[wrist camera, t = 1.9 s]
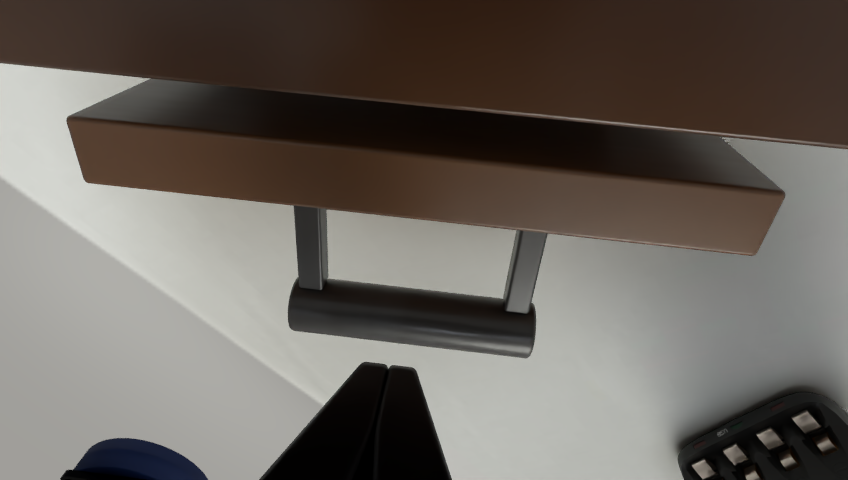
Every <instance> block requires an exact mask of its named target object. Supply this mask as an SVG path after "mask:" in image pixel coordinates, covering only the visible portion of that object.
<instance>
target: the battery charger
mask: <svg viewBox="0 0 848 480" xmlns="http://www.w3.org/2000/svg"><path fill="white" fill-rule="evenodd" d="M678 463H679V467H680V470H681V472H682V475H683V478H684V480H848V411H847V410H846V409H842V408H840V407H839V406H838V405H837V404H836V403H835V402H833V401H831V400H830V399H828V398H826V397H824V396H821V395H818V394H815V393H809V392H800V393H795V394H792V395H788V396H785V397H782V398H780V399H778V400H775V401H773V402H771V403H769V404H767V405H765V406H762V407H760V408H758V409H756V410H754V411H752V412H750V413H748V414H745V415H743V416H741V417H739V418H737V419H735V420H733V421H731V422H729V423H727V424H725V425H723V426H721V427H719V428H717V429H716V430H714V431H712V432H710V433H708V434H706V435H704V436H702V437H700V438H698V439H696V440H695V441H693V442H691V443H690V444H689V445H687V446H686V447H684V448H683V449H682V450H681V452H680V453H679V456H678Z"/></svg>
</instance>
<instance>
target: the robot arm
mask: <svg viewBox="0 0 848 480" xmlns="http://www.w3.org/2000/svg"><path fill="white" fill-rule="evenodd" d="M60 480H147V479H139V478H132V477H124V476H116V475H109V474H101V473H94V472H86V471H78V470H66V471H65V473H64V474H63V475H62V477H61V478H60ZM259 480H452V478H451V475H450V472H449V469H448V466H447V463H446V460H445V457H444V454H443V451H442V448H441V445H440V442H439V439H438V436H437V433H436V430H435V426H434V423H433V420H432V417H431V414H430V411H429V408H428V405H427V402H426V399H425V396H424V393H423V390H422V387H421V384H420V381H419V378H418V375H417V372H416V370H415V369H414V368H412V367H404V366H396V365H392V366H390V367H389V369H388V367H387V365H385V364H379V363H370V362H364V363H362V364H360V365H359V366H358V367H357V369H356V370H355V371H354V372H353V373H352V374H351V375H350V377H349V378H348V379H347V380H346V381H345V382H344V383H343V385H342V386H341V387H340V388H339V389H338V390H337V391H336V393H335V394H334V395H333V396H332V397H331V398H330V399H329V401H328V402H327V403H326V404H325V405H324V406H323V407H322V409H321V410H320V411H319V412H318V413H317V414H316V415H315V417H314V418H313V419H312V420H311V421H310V423H308V425H307V426H306V427H305V428H304V429H303V430H302V431H301V433H300V434H299V435H298V436H297V437H296V438H295V439H294V441H293V442H292V443H291V444H290V445H289V446H288V448H287V449H286V450H285V451H284V452H283V453H282V454H281V456H280V457H279V458H278V459H277V460H276V461H275V462H274V463H273V465H272V466H271V467H270V468H269V469H268V470H267V472H266V473H265V474H264V475H263V476H262V477H261V478H260V479H259Z"/></svg>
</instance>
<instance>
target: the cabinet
mask: <svg viewBox="0 0 848 480" xmlns="http://www.w3.org/2000/svg"><path fill="white" fill-rule="evenodd" d="M0 63H4V64H14V65H24V66H34V67H43V68H53V69H63V70H73V71H83V72H93V73H102V74H112V75H122V76H132V77H142V78H151V79H161V80H171V81H181V82H191V83H201V84H210V85H220V86H230V87H240V88H250V89H260V90H269V91H279V92H289V93H299V94H309V95H318V96H328V97H338V98H348V99H358V100H368V101H377V102H387V103H397V104H407V105H417V106H427V107H436V108H446V109H456V110H466V111H476V112H485V113H495V114H505V115H515V116H525V117H535V118H544V119H554V120H564V121H574V122H584V123H594V124H603V125H613V126H623V127H633V128H643V129H652V130H662V131H672V132H682V133H692V134H702V135H711V136H721V137H731V138H741V139H751V140H761V141H770V142H780V143H790V144H800V145H810V146H819V147H829V148H839V149H848V0H0Z"/></svg>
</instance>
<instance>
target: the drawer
mask: <svg viewBox="0 0 848 480" xmlns="http://www.w3.org/2000/svg"><path fill="white" fill-rule="evenodd" d="M67 125H68V128H69V131H70V135H71V138H72V141H73V145H74V148H75V151H76V155H77V158H78V161H79V165H80V168H81V171H82V175H83V178H84V180H85V181H86V182H87V183H93V184H102V185H111V186H121V187H130V188H139V189H148V190H157V191H166V192H175V193H184V194H193V195H203V196H212V197H221V198H230V199H239V200H248V201H257V202H266V203H275V204H285V205H294V215H295V230H296V246H297V261H298V276H299V277H298V278H297V279H296V281H295V283H294V285H293V287H292V290H291V294H290V299H289V305H288V322H289V326H290V328H291V329H292V330H294V331H301V332H309V333H318V334H326V335H334V336H343V337H351V338H360V339H368V340H377V341H385V342H393V343H402V344H410V345H419V346H427V347H436V348H444V349H452V350H461V351H469V352H478V353H486V354H494V355H503V356H511V357H520V358H528V357H529V356H530V354H531V352H532V350H533V346H534V340H535V333H536V311H535V307H534V304H533V303H531V302H532V297H533V293H534V289H535V285H536V280H537V276H538V272H539V268H540V263H541V259H542V255H543V251H544V247H545V242H546V238H547V234H548V233H549V234H558V235H567V236H576V237H585V238H594V239H603V240H612V241H621V242H631V243H640V244H649V245H658V246H667V247H676V248H685V249H694V250H703V251H713V252H722V253H731V254H740V255H749V256H753V255H755V254H756V253H757V252H758V250H759V248H760V246H761V244H762V242H763V240H764V238H765V236H766V234H767V232H768V230H769V228H770V226H771V224H772V222H773V220H774V218H775V216H776V214H777V212H778V210H779V208H780V206H781V204H782V202H783V200H784V198H785V192H784V191H783V190H782V189H781V188H780V187H778V186H777V185H776V184H775V183H774V182H773V181H771V180H770V179H769V178H768V177H767V176H765V175H764V174H763V173H762V172H761V171H760V170H758V169H757V168H756V167H755V166H754V165H752V164H751V163H750V162H749V161H748V160H747V159H745V158H744V157H743V156H742V155H741V154H739V153H738V152H737V151H736V150H735V149H734V148H732V147H731V146H730V145H729V144H728V143H726V142H725V141H724V140H723V139H722V138H721V137H719V136H711V135H702V134H692V133H682V132H672V131H662V130H652V129H643V128H633V127H623V126H613V125H603V124H594V123H584V122H574V121H564V120H554V119H544V118H535V117H525V116H515V115H505V114H495V113H485V112H476V111H466V110H456V109H446V108H436V107H427V106H417V105H407V104H397V103H387V102H377V101H368V100H358V99H348V98H338V97H328V96H318V95H309V94H299V93H289V92H279V91H269V90H260V89H250V88H240V87H230V86H220V85H210V84H201V83H191V82H181V81H171V80H161V79H149V80H147V81H145V82H143V83H141V84H138V85H136V86H134V87H132V88H130V89H127V90H125V91H123V92H121V93H118V94H116V95H114V96H112V97H110V98H107V99H105V100H103V101H101V102H99V103H96V104H94V105H92V106H90V107H88V108H85V109H83V110H81V111H79V112H77V113H74V114H72V115H70V116H68V117H67ZM326 209H330V210H339V211H348V212H357V213H366V214H376V215H385V216H394V217H403V218H412V219H421V220H430V221H439V222H448V223H458V224H467V225H476V226H485V227H494V228H503V229H512V230H517V231H516V236H515V241H514V246H513V251H512V256H511V261H510V266H509V271H508V276H507V281H506V286H505V291H504V296H503V297H504V299H500V298H492V297H483V296H474V295H466V294H457V293H448V292H439V291H431V290H422V289H413V288H405V287H396V286H387V285H378V284H370V283H361V282H352V281H344V280H335V279H327V278H328V250H327V214H326Z"/></svg>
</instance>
